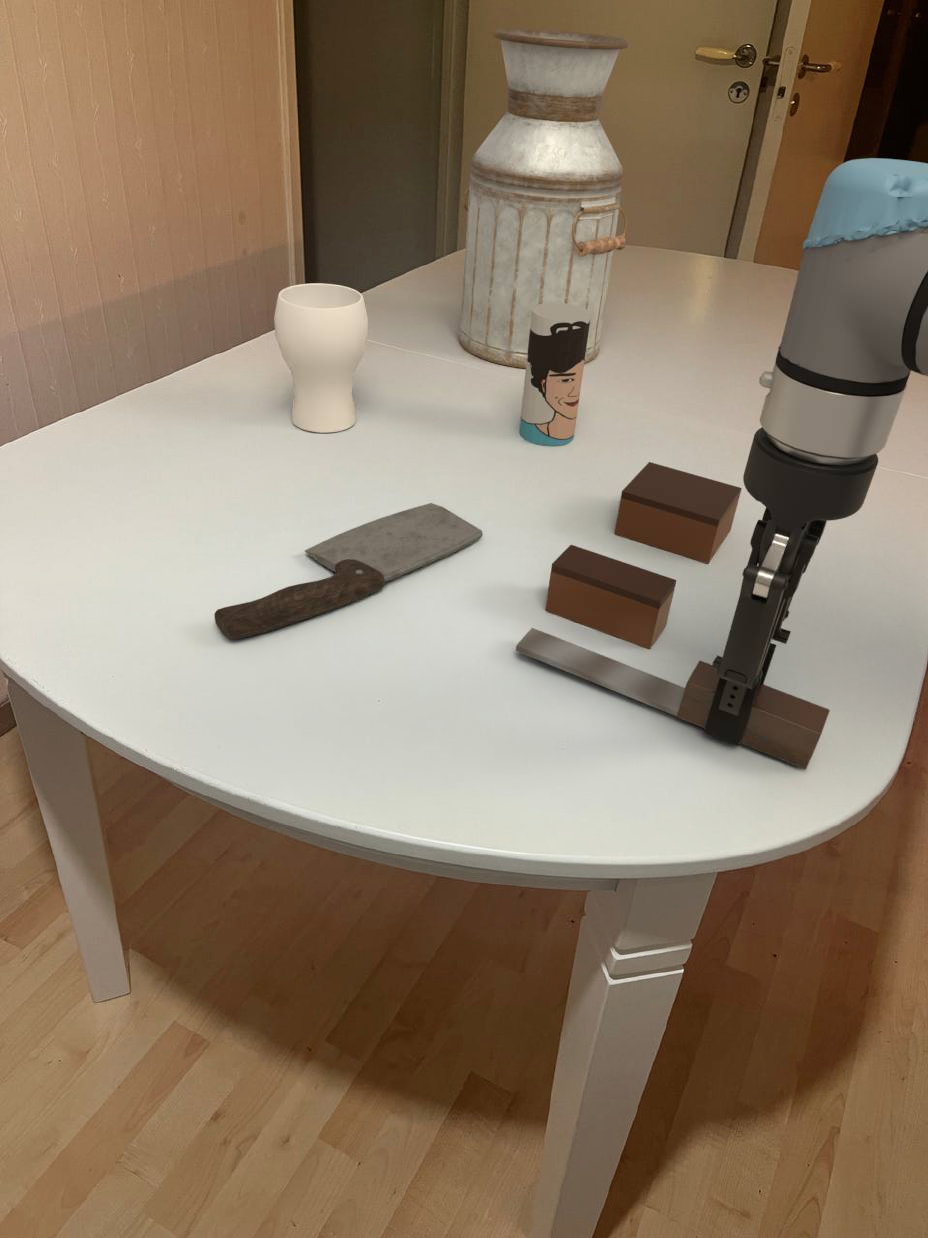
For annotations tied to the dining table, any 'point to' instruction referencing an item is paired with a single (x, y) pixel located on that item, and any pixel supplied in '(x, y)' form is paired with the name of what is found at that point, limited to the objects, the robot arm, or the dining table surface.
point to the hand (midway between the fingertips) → (729, 720)
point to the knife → (692, 697)
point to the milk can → (542, 195)
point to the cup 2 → (554, 373)
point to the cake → (677, 511)
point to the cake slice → (610, 595)
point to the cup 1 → (322, 351)
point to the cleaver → (355, 567)
